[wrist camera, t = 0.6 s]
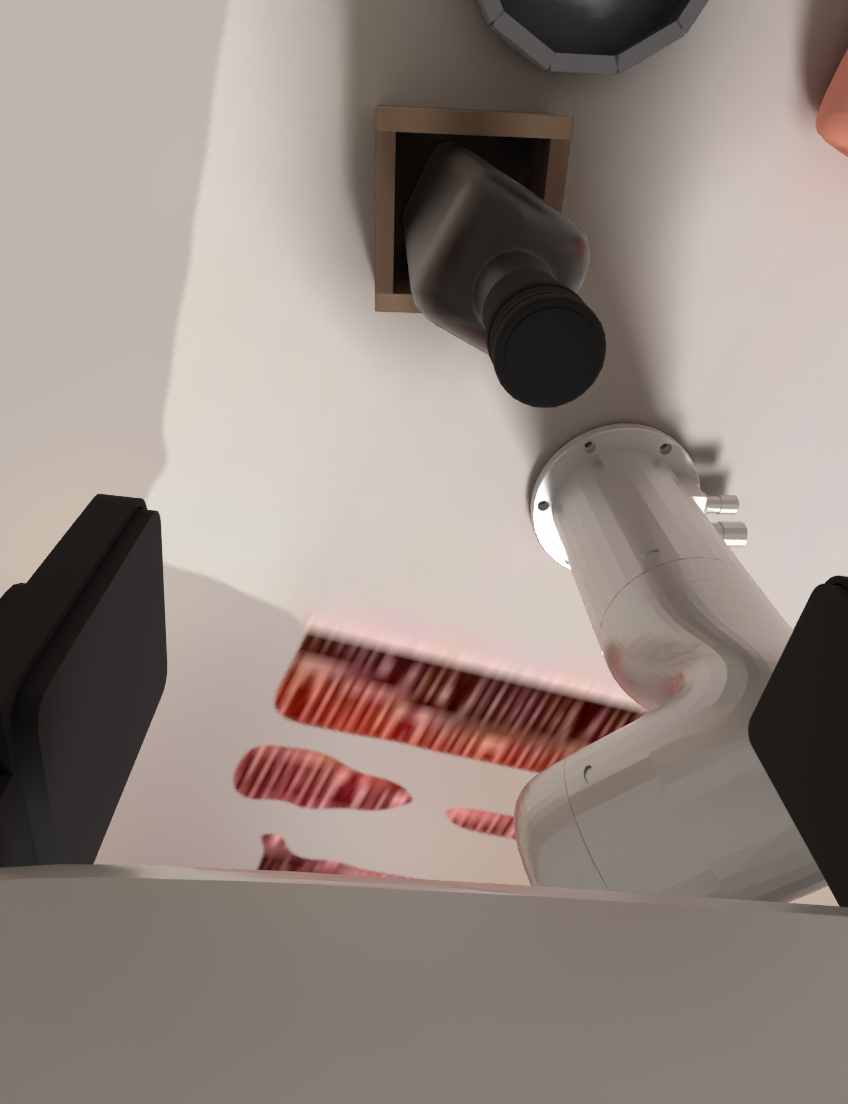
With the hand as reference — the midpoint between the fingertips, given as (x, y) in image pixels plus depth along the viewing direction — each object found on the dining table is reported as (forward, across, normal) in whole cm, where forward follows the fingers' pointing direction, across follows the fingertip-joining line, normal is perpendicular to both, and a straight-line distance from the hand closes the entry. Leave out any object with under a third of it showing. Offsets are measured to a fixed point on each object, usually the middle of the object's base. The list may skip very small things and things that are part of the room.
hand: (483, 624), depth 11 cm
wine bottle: (+41, -2, -2) cm, 41 cm away
